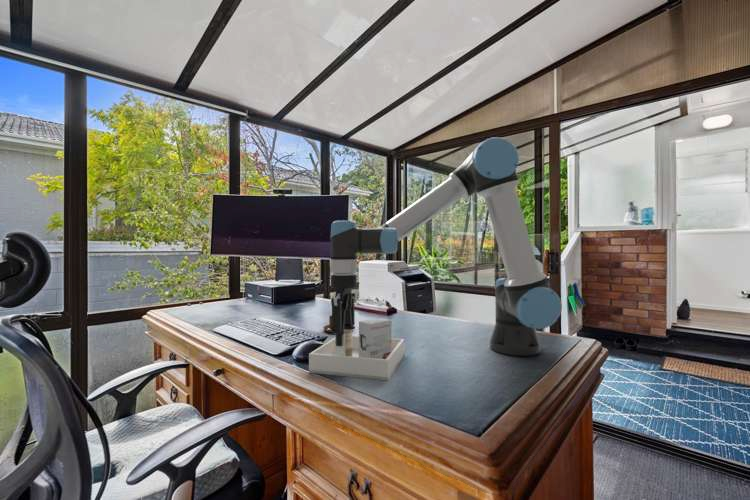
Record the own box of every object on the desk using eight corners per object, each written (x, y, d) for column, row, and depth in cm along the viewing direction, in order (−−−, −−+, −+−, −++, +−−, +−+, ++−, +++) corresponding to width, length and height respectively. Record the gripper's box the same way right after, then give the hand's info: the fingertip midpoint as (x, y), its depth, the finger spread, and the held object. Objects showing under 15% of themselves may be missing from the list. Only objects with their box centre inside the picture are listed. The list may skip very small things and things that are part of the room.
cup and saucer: (359, 332, 140) (359, 316, 140) (334, 337, 132) (334, 320, 132) (342, 327, 149) (342, 312, 149) (317, 331, 142) (317, 316, 142)
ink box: (381, 357, 105) (381, 317, 104) (392, 361, 101) (392, 319, 101) (357, 363, 99) (357, 321, 99) (368, 367, 95) (368, 324, 95)
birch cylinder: (354, 355, 105) (354, 332, 105) (349, 361, 100) (349, 336, 100) (338, 354, 106) (338, 331, 106) (332, 359, 101) (332, 335, 101)
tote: (404, 355, 109) (404, 339, 109) (388, 380, 88) (388, 360, 88) (339, 350, 115) (338, 334, 115) (309, 372, 94) (308, 353, 94)
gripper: (342, 271, 112) (342, 345, 112) (318, 276, 95) (319, 362, 95) (365, 272, 110) (365, 346, 110) (344, 276, 93) (345, 365, 93)
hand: (343, 354), depth 103 cm, fingers closed on birch cylinder, 5 cm apart
